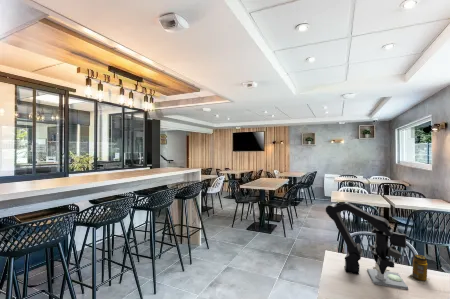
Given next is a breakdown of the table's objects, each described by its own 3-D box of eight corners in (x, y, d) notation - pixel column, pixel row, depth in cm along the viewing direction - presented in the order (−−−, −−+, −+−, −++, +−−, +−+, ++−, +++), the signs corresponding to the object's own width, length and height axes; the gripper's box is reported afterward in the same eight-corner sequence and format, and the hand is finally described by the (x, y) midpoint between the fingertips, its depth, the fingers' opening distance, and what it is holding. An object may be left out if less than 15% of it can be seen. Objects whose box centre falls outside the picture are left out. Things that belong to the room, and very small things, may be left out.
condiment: (429, 279, 125) (430, 257, 125) (424, 284, 121) (425, 262, 120) (413, 272, 131) (414, 252, 131) (407, 277, 127) (408, 256, 126)
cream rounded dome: (374, 271, 123) (374, 265, 123) (371, 266, 128) (371, 260, 128) (390, 273, 121) (390, 267, 121) (387, 268, 126) (387, 262, 126)
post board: (373, 283, 121) (373, 273, 121) (366, 270, 134) (367, 261, 133) (408, 289, 117) (408, 278, 116) (397, 275, 129) (398, 265, 129)
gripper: (407, 252, 112) (406, 284, 113) (392, 237, 130) (392, 264, 131) (380, 249, 116) (379, 280, 117) (370, 234, 134) (369, 261, 134)
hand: (380, 271), depth 124 cm, fingers closed on cream rounded dome, 5 cm apart
